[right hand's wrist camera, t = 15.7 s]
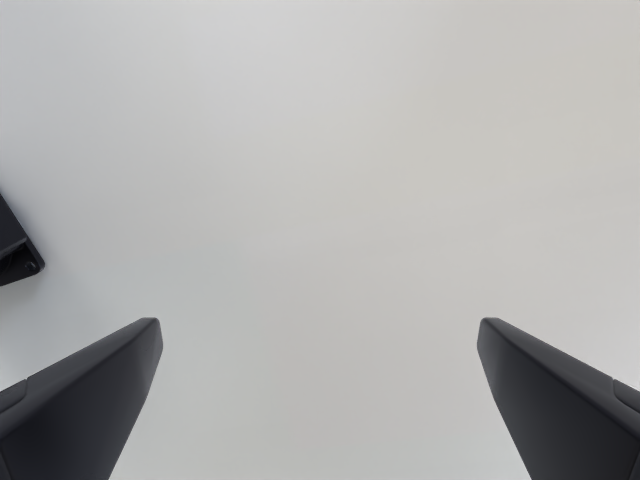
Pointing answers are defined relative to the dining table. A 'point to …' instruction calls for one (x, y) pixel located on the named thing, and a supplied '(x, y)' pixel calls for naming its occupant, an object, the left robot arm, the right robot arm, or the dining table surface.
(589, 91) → the dining table surface
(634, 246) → the dining table surface
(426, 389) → the dining table surface
